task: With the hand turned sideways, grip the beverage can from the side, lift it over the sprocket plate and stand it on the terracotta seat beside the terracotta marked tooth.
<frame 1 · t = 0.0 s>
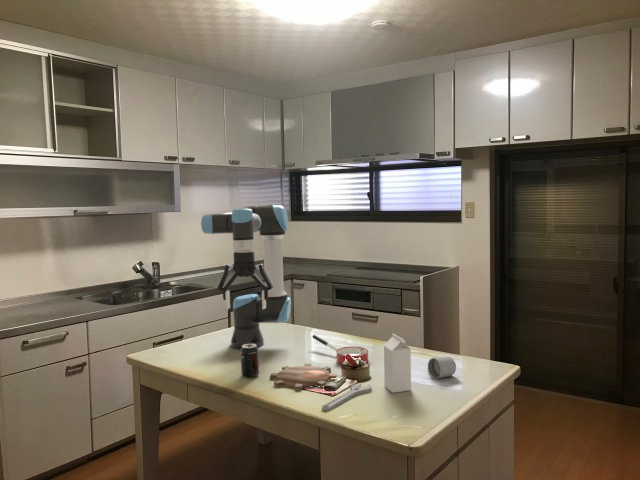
hand: (246, 308, 193), 28 cm above the worktop, tool pointing down, fingers open, 13 cm apart
sprocket plate: (303, 378, 199), on the worktop
ceramic mug: (439, 376, 198), on the worktop
red saucepan: (335, 357, 224), on the worktop
beverage can: (250, 376, 203), on the worktop
adjustable wrench: (345, 399, 179), on the worktop
milk carton: (397, 389, 186), on the worktop
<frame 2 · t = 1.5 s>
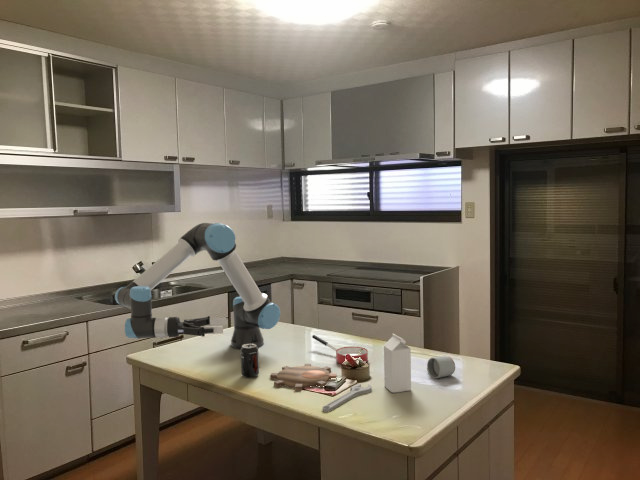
hand: (224, 325, 201), 20 cm above the worktop, tool horizontal, fingers open, 13 cm apart
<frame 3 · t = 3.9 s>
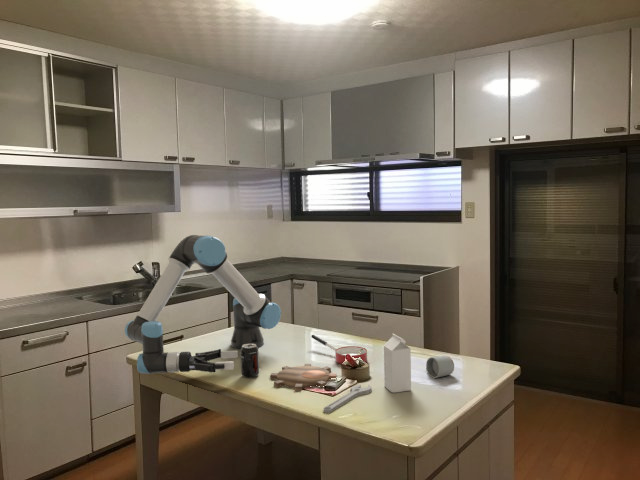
hand: (235, 359, 202), 7 cm above the worktop, tool horizontal, fingers open, 13 cm apart
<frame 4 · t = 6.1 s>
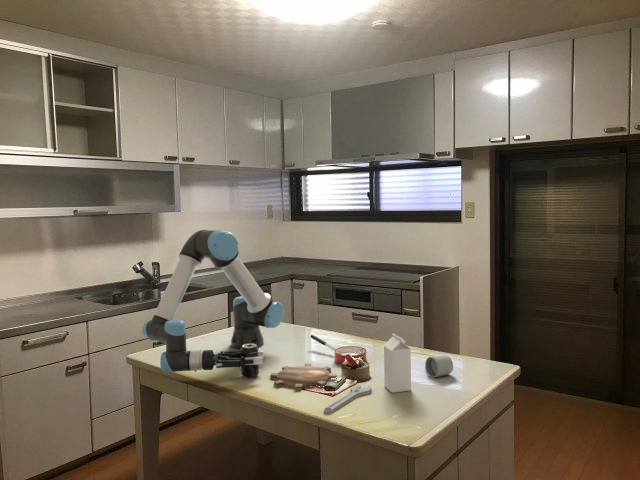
hand: (262, 357, 203), 7 cm above the worktop, tool horizontal, fingers closed on beverage can, 7 cm apart
beverage can: (250, 376, 203), on the worktop, touching gripper
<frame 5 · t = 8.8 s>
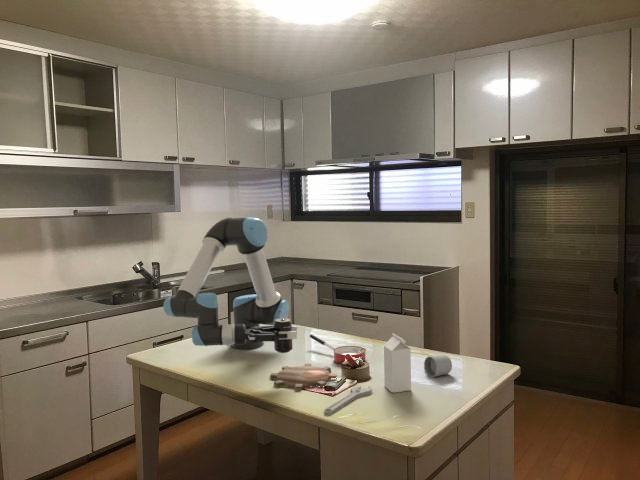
hand: (296, 332, 197), 18 cm above the worktop, tool horizontal, fingers closed on beverage can, 7 cm apart
beverage can: (283, 351, 197), point 11 cm above the worktop, touching gripper
when the fingers open (10 cm above the worktop, at t = 11.8 s): beverage can drops 1 cm, resting on sprocket plate.
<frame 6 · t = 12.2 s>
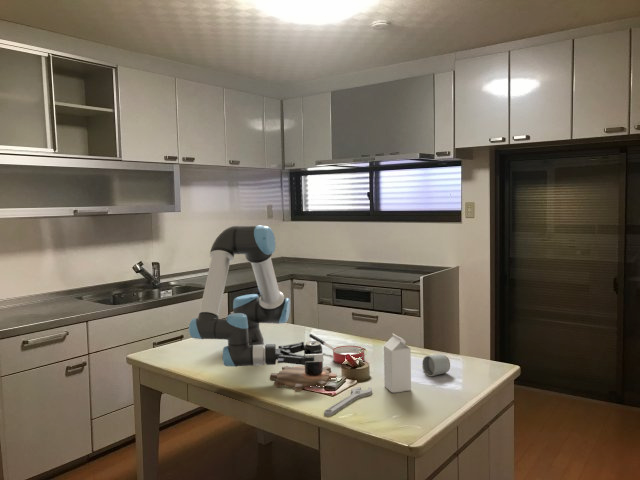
hand: (322, 352, 198), 10 cm above the worktop, tool horizontal, fingers open, 13 cm apart
beverage can: (313, 374, 198), point 1 cm above the worktop, touching sprocket plate
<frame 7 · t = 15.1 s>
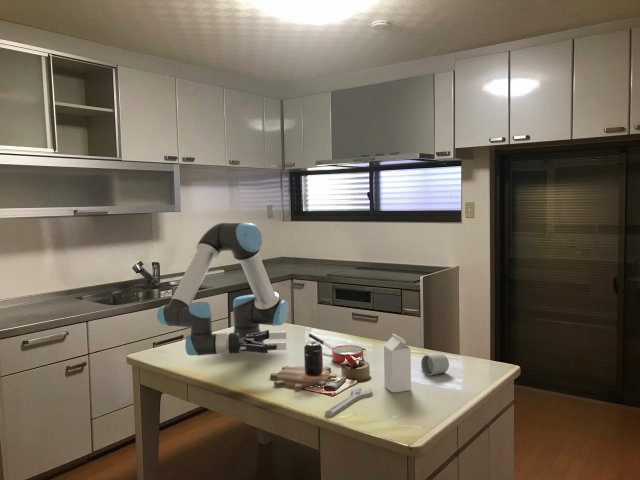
hand: (286, 340, 196), 15 cm above the worktop, tool horizontal, fingers open, 13 cm apart
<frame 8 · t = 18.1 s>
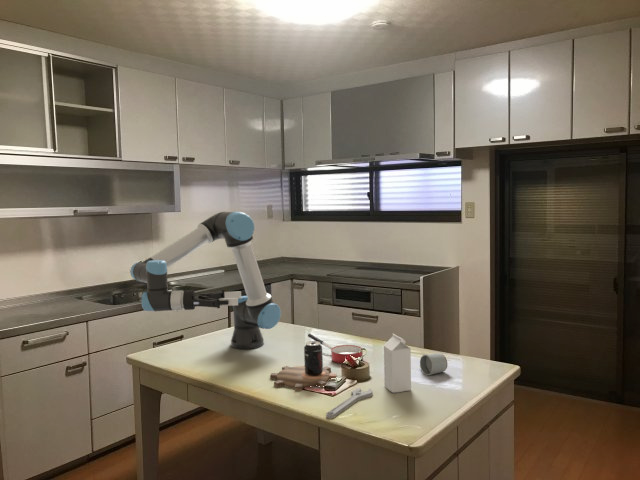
hand: (239, 298, 204), 30 cm above the worktop, tool horizontal, fingers open, 13 cm apart
at the end: beverage can 0.1 cm from the target spot on the sprocket plate, point 1.5 cm above the sprocket plate's base; beverage can tilted 0°; the gripper is holding nothing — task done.
